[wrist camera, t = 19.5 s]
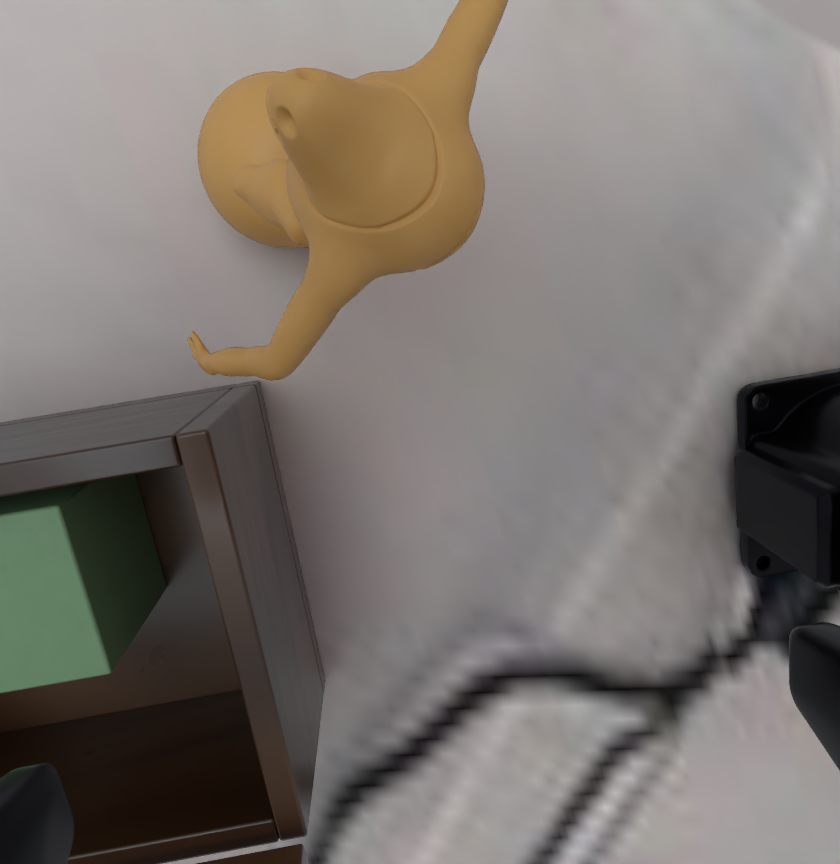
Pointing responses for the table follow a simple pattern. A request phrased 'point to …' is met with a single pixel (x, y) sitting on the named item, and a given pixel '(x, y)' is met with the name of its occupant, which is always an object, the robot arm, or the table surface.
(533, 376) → the table surface
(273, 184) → the figurine
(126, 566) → the block
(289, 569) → the box
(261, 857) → the lid
